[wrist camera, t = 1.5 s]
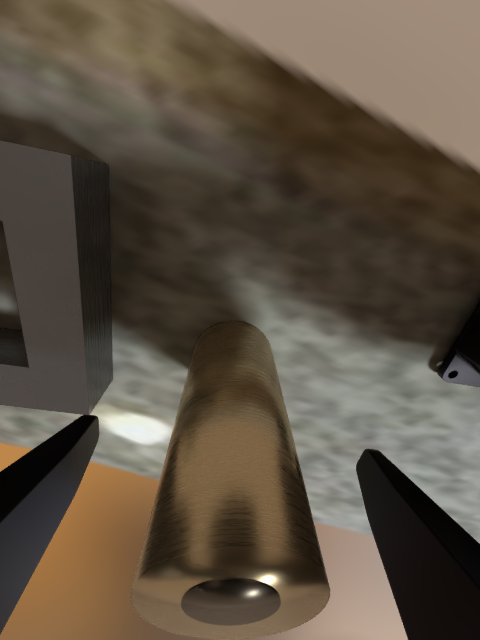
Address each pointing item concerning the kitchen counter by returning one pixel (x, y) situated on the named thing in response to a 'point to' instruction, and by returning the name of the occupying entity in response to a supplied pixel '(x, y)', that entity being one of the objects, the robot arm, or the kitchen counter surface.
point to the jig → (56, 280)
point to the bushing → (231, 504)
